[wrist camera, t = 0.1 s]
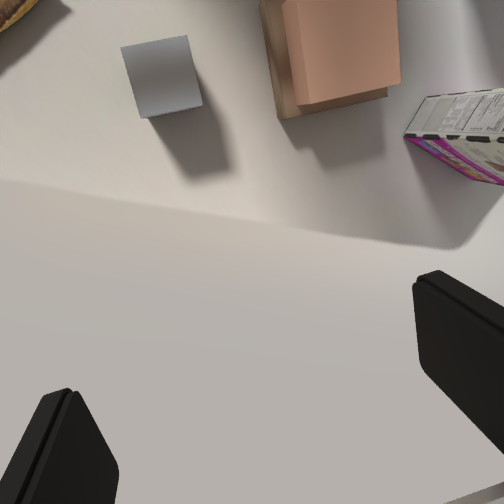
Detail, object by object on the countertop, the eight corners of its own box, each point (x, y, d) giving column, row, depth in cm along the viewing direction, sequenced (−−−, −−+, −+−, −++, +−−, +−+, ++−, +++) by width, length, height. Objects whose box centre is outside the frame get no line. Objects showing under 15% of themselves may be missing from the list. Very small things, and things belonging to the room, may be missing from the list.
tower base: (258, 6, 35) (267, -7, 31) (359, -13, 36) (380, -28, 32) (276, 118, 39) (286, 118, 35) (368, 98, 39) (387, 96, 36)
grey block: (131, 60, 34) (120, 47, 28) (185, 50, 35) (187, 34, 28) (147, 118, 36) (140, 118, 30) (198, 107, 37) (203, 105, 30)
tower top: (281, 5, 32) (294, -10, 28) (370, -13, 32) (394, -30, 29) (296, 105, 35) (310, 104, 31) (377, 87, 35) (400, 83, 32)
